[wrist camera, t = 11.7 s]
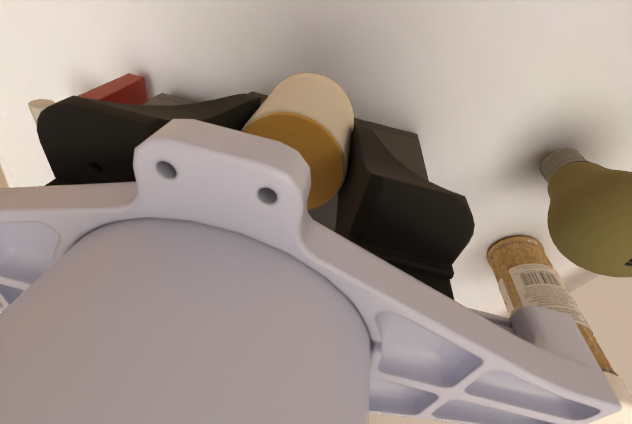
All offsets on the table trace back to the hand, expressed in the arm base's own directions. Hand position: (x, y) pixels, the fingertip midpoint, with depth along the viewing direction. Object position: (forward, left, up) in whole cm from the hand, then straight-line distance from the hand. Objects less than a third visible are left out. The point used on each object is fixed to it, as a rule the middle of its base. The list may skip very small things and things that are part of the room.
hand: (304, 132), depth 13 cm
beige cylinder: (0, 0, -1) cm, 1 cm away
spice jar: (+10, -21, -10) cm, 25 cm away
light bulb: (+13, -12, -10) cm, 20 cm away
